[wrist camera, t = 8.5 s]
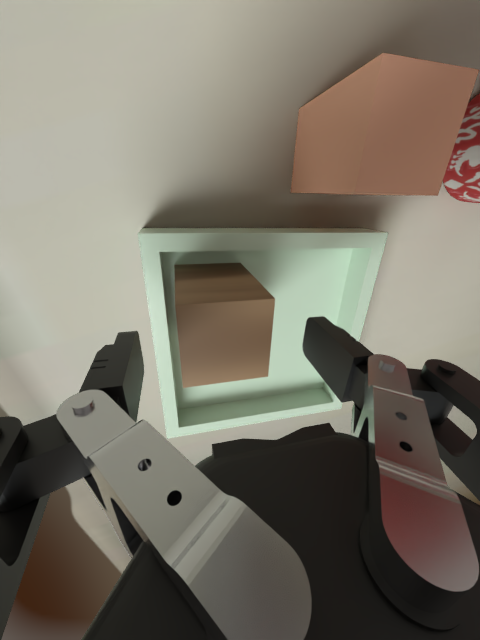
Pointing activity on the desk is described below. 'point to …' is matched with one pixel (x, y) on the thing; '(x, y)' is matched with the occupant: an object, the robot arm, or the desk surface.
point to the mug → (466, 158)
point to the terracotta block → (382, 129)
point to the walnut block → (222, 323)
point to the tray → (288, 323)
